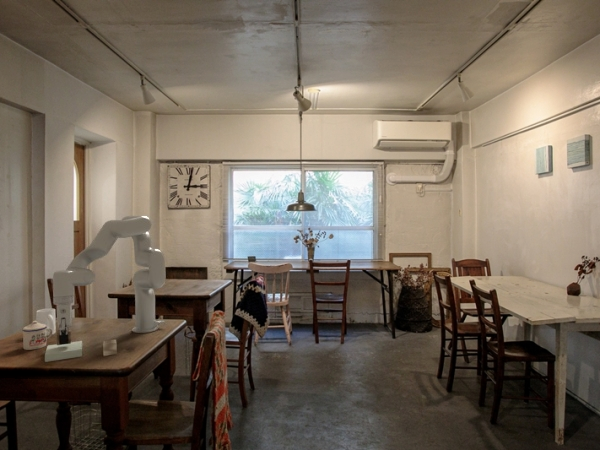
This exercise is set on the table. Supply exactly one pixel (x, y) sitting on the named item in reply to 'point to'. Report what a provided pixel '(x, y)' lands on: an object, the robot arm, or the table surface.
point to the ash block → (109, 347)
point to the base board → (63, 351)
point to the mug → (47, 319)
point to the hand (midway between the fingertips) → (64, 341)
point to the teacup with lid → (35, 336)
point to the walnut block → (68, 336)
